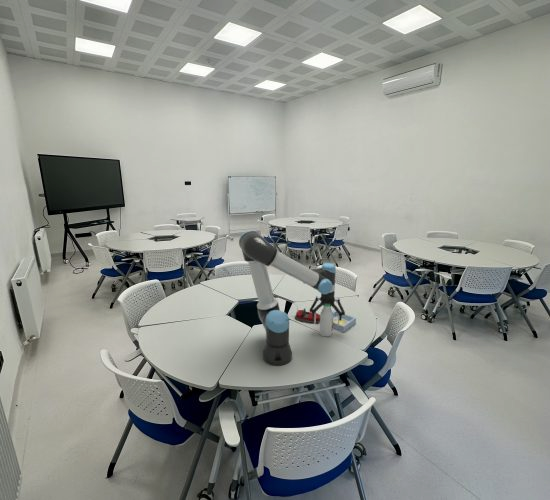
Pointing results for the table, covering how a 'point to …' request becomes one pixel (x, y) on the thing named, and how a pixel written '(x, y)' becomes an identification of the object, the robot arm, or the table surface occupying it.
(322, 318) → the milk bottle
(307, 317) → the bumper car
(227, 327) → the table surface
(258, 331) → the table surface
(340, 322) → the blue square tray
